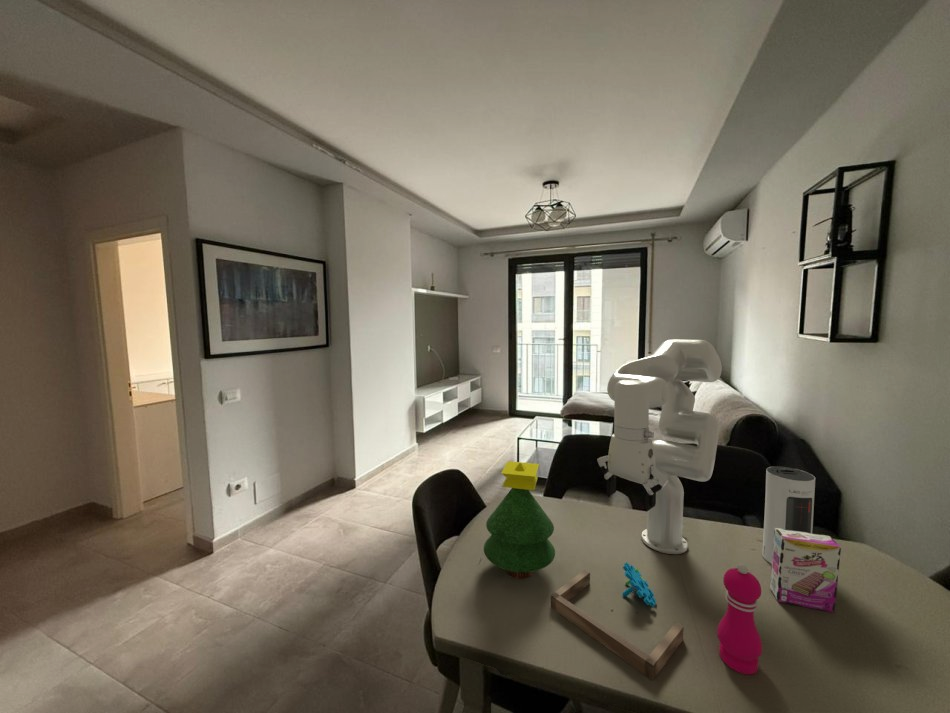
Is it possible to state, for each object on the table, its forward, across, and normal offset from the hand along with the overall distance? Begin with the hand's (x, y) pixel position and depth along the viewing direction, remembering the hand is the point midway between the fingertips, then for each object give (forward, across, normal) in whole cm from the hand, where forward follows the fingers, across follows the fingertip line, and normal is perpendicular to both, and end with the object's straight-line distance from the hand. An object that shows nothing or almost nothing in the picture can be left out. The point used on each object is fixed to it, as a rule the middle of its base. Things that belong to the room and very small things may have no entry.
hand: (629, 500), depth 90 cm
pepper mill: (+24, -24, +1) cm, 34 cm away
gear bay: (+24, -3, +12) cm, 26 cm away
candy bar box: (+25, -28, -29) cm, 47 cm away
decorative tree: (+24, +23, +15) cm, 37 cm away
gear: (+24, -2, 0) cm, 24 cm away
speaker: (+25, -22, -45) cm, 56 cm away
